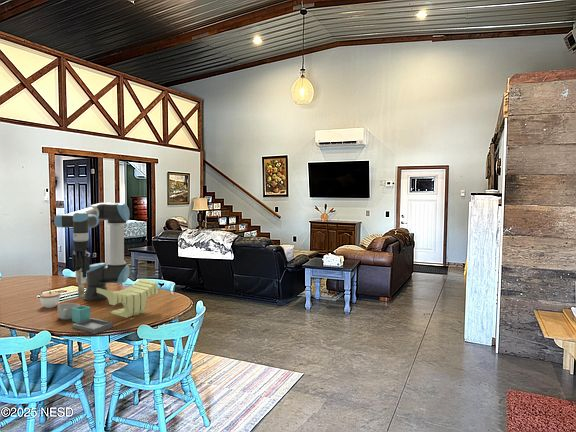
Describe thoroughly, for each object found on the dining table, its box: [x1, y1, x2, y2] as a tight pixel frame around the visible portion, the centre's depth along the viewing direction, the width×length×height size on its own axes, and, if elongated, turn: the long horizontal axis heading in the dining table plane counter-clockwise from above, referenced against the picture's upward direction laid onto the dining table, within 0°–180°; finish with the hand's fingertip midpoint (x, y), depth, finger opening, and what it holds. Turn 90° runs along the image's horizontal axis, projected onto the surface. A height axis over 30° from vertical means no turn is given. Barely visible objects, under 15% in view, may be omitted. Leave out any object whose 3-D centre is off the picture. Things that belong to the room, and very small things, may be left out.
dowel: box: [77, 268, 85, 300], centre depth 215 cm, size 3×3×16 cm
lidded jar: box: [39, 291, 61, 309], centre depth 243 cm, size 11×11×9 cm
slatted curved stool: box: [97, 278, 159, 318], centre depth 231 cm, size 30×16×18 cm, turn 149°
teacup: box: [57, 302, 80, 321], centre depth 219 cm, size 14×11×8 cm
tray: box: [71, 317, 114, 335], centre depth 207 cm, size 16×12×3 cm
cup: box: [71, 305, 91, 323], centre depth 216 cm, size 6×6×8 cm
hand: (81, 282), depth 215 cm, fingers closed on dowel, 3 cm apart
